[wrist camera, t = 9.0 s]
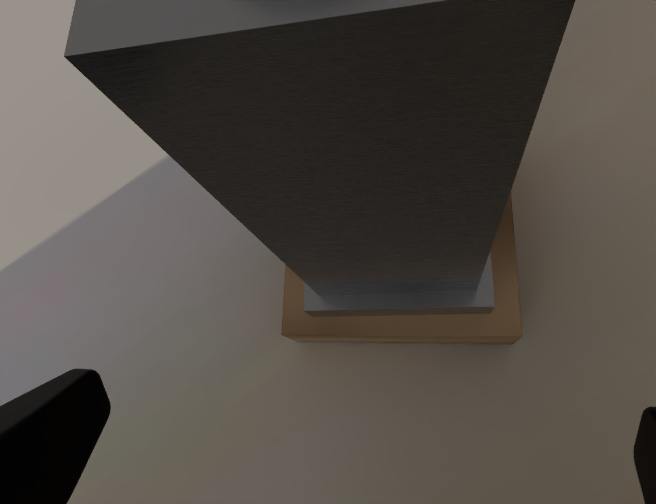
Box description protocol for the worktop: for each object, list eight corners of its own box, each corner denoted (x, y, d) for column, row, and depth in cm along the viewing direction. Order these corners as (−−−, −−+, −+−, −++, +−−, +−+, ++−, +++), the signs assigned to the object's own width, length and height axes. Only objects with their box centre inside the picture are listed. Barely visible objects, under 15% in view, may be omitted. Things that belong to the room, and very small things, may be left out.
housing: (490, 313, 16) (730, -104, 3) (312, 317, 17) (-82, 34, 4) (477, 149, 18) (588, -566, 5) (316, 163, 19) (49, -374, 6)
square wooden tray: (513, 343, 17) (527, 331, 15) (296, 341, 19) (272, 330, 16) (498, 143, 20) (508, 100, 17) (306, 157, 21) (287, 120, 19)
